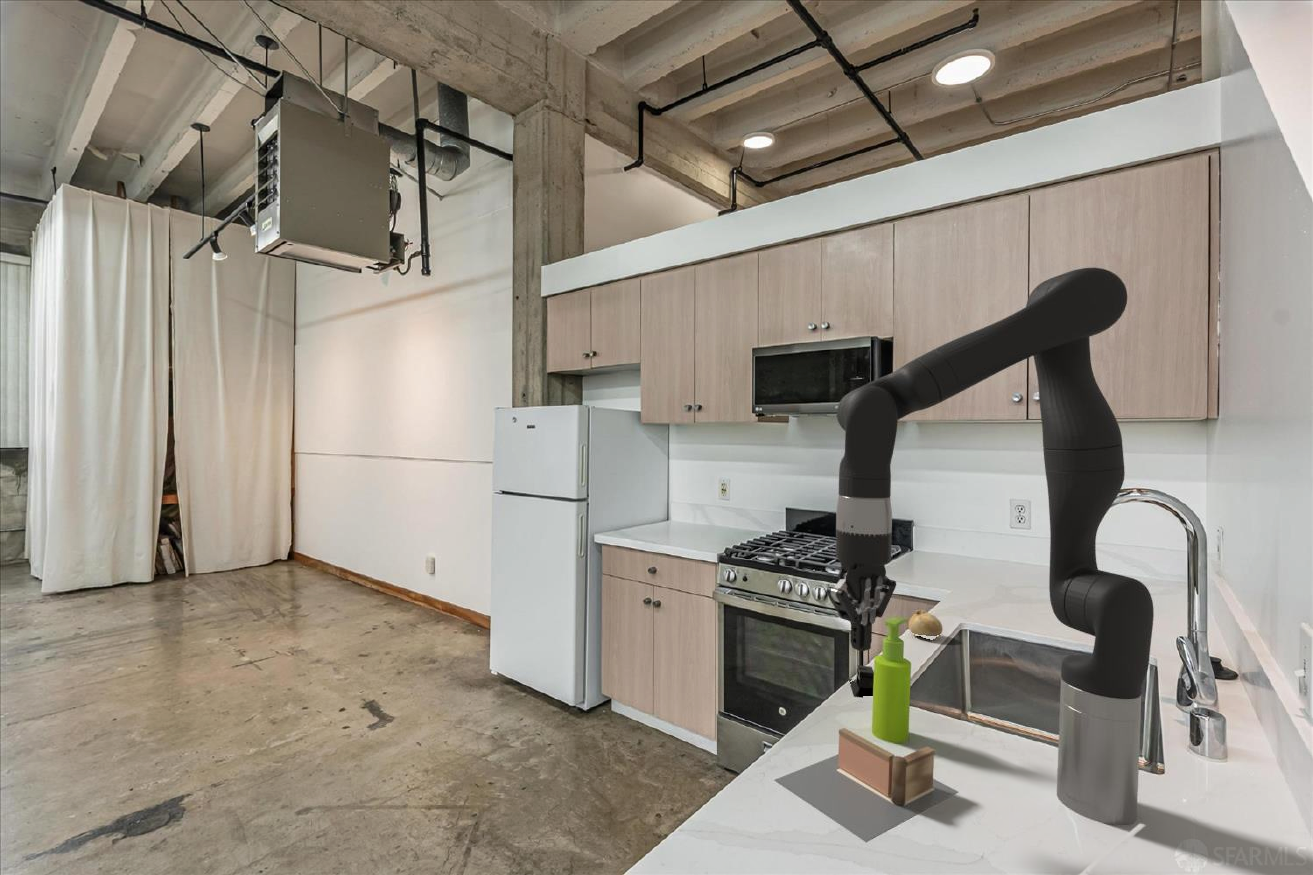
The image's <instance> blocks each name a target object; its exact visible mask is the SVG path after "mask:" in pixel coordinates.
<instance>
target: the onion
mask: <svg viewBox="0 0 1313 875" xmlns="http://www.w3.org/2000/svg"><path fill="white" fill-rule="evenodd" d="M908 621H909V622H908V629H909V631H910V630H911V632H912V633H914V634H918V635H926V636H937V635H940V634H941V635H942V633H943V624H942V622H941V620H940V619H938V617H936V615H934V614H932V613H929V612H927V611H926V610H925V609H916V610H915V612H914V614H913V615H912V616H911V617H910V619H909V620H908ZM911 632H910V633H911ZM912 633H911V634H912ZM941 635H940V636H941Z"/></svg>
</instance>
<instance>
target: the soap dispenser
mask: <svg viewBox="0 0 1313 875" xmlns="http://www.w3.org/2000/svg"><path fill="white" fill-rule="evenodd" d="M908 621H909V619H906V618H902V617H897V616H892V617H891V618H888V620H885V626H888V631H887V632H888V634H887V636H885V637H883V639H882V654H877V655H876V656H875V657H874V660H873V661H874V662H873V671H874V685H873V699H872V716H871V718H872V719H871V720H872V721H871V722H872V723H871V733H872V735H873V736H875V737H876V738H878V739H879V740H881V741H883V742H886V743H887V742H888V743H894V744H903V743H905V742H907V741H909V733H910V709H911V708H910V706H911V705H910V703H911V702H910V701H911V679H912V678H911V677H912V676H911V675H912V674H911V673H912V672H911V671H912V662H911V661H910V660H909V659H907V658H904V648H905V647H904V645H905V641H904V640H903V639H902V638H900V626H901V625H903V624H905V623H909V622H908Z"/></svg>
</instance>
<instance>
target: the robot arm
mask: <svg viewBox="0 0 1313 875" xmlns="http://www.w3.org/2000/svg"><path fill="white" fill-rule="evenodd" d="M1127 304H1128V291H1127V288H1126V285H1125V283H1124V282H1123V280H1122V278H1120V276H1118V275H1117V274H1116V273H1114V272H1113V271H1110V270H1107V269H1105V268H1101V267H1084V268H1083V267H1082V268H1077V269H1073V270H1071V271H1067V272H1063V273H1061V274H1060V275H1057V276H1054V277H1051V278H1049V279H1046V280H1043V281H1042V282H1041V283H1039V284H1038V285H1036V287H1035V288H1034V289H1033V290H1032V291H1031V293H1030V294H1029V296H1028V299H1027V301H1026V304H1025V305H1026V306H1025V307H1024V308H1022V309H1020V310H1018V311H1017V312H1015V313H1012V314H1011V315H1009V316H1006V317H1005V318H1002V319H1001V320H998V321H996V322H994V323H991V324H989V325H987V326H984V327H982V328H980V329H977V330H975V331H971V332H969V333H967V334H965V335H962V336H960V337H958V338H956V339H953V340H951V341H948V342H947V343H944V344H942V345H940V346H938V347H936V348H933V349H931V351H928V352H926V353H923V354H922V355H920V356H919V357H916V358H915V359H913V360H911V361H909V362H908V363H906V364H904V365H903V366H901V367H900V368H898V369H896V370H895V371H893V372H891V373H889V374H886V375H884V376H882V377H879V378H877V379H875V380H873V381H870V382H868V383H866V384H864V385H861V386H860V387H858V388H855V389H853V390H851V391H849V392H848V393H846V394H845V395H844V396H843V397H842V398H841V399H840V401H839V404H838V406H837V409H836V419H837V422H838V424H839V426H840V427H841V429H842V430H844V431H845V433H844V436H845V438H844V453H843V454H844V455H843V457H842V458H841V459H840V463H839V470H838V471H839V472H838V499H837V505H836V514H835V515H836V517H835V519H836V520H835V521H836V522H835V557H836V559H837V560H838V561H839V563H840V568H839V571H838V582H837V583H836V584H835V585H834V587H833V586H827V587H826V591H825V592H826V595H827V596H828V599H829V600H830V601H831V603H832V606H833V607H834V608H835V611H836V613H837V614H838V616H839V617H840V619H842V620H845V621H848V622H850V646H851V647H852V648H853V649H854V650H857V651H859V652H865V651H866V652H867V651H869V650H870V649H872V648H871V646H872V645H871V644H872V637H873V636H872V634H873V624H875V623H876V619H877V618H882V617H883V615H884V613H885V612H886V609H887V607H888V605H889V602H890V600H891V598H892V596H893V594H894V591H895V590H896V588H897V582H896V580H893V579H890V578H889V577H888V576H887V570H886V565H888V564H890V563H891V560H892V542H893V541H892V537H893V536H892V534H893V533H892V532H893V530H892V527H893V526H892V525H893V524H892V523H893V509H892V503H891V500H892V499H891V493H892V492H891V488H892V486H891V485H892V484H891V482H892V473H891V472H892V471H891V464H892V459H893V454H894V448H895V445H896V438H897V432H898V423H899V422H898V421H899V420H900V419H902V418H905V417H907V416H908V415H911V414H913V413H915V412H919V411H922V410H925V409H929V408H931V407H934V406H936V405H939V404H940V403H942V402H944V401H946V400H948V399H950V398H952V397H954V396H956V395H958V394H960V393H961V392H963V391H964V392H965V391H966V390H967V389H969V388H971V387H973V386H976V385H977V384H978V383H981V382H983V381H985V380H987V379H988V378H991V377H992V376H995V375H996V374H998V373H999V372H1001V371H1002V372H1003V371H1004V370H1006V369H1008V368H1010V367H1011V366H1014V365H1016V364H1018V363H1020V362H1022V361H1024V360H1026V359H1027V360H1028V359H1029V358H1031V357H1033V360H1034V366H1035V371H1036V375H1037V376H1036V377H1037V384H1038V385H1037V386H1038V396H1039V398H1038V399H1039V410H1040V417H1041V418H1040V419H1041V428H1042V431H1041V432H1042V447H1043V448H1042V449H1043V461H1044V471H1045V478H1046V485H1047V495H1048V497H1047V498H1048V510H1049V511H1048V514H1049V530H1050V531H1049V532H1050V541H1049V542H1050V543H1049V544H1050V546H1049V575H1048V576H1049V580H1048V583H1049V586H1048V588H1049V589H1048V590H1049V599H1050V600H1049V601H1050V605H1051V608H1052V612H1053V614H1054V616H1055V617H1056V618H1057V620H1058V621H1059V622H1060V623H1061V624H1063V625H1065V626H1066V627H1068V628H1071V629H1073V630H1076V631H1078V632H1081V633H1084V634H1087V635H1090V636H1092V637H1094V638H1095V639H1094V645H1093V650H1092V653H1091V654H1072V655H1067V656H1066V657H1064V658H1063V659H1062V662H1061V669H1060V670H1061V671H1060V674H1061V675H1060V693H1059V694H1060V695H1059V700H1060V701H1059V720H1058V721H1059V723H1058V724H1059V725H1058V748H1057V750H1058V751H1057V752H1058V753H1057V754H1058V755H1057V774H1056V776H1057V777H1056V796H1057V798H1058V800H1059V802H1060V803H1061V804H1062V805H1064V806H1065V807H1066V808H1068V810H1070V811H1072V812H1074V813H1076V814H1077V815H1080V816H1082V817H1084V818H1086V819H1089V820H1091V821H1095V822H1098V823H1102V824H1104V825H1105V824H1107V825H1110V826H1111V825H1112V826H1120V827H1121V826H1123V827H1125V826H1130V825H1133V824H1134V823H1136V822H1137V816H1138V792H1139V772H1140V771H1139V770H1140V769H1139V768H1140V766H1139V765H1140V742H1141V740H1140V738H1141V737H1140V736H1141V720H1142V719H1141V715H1142V714H1141V711H1142V710H1141V709H1142V693H1143V692H1142V691H1143V690H1142V689H1143V683H1144V681H1145V679H1146V676H1147V674H1148V671H1149V665H1150V656H1151V654H1150V653H1151V644H1152V637H1153V636H1152V635H1153V629H1154V628H1153V626H1154V617H1155V616H1154V614H1155V613H1154V610H1155V609H1154V603H1153V602H1154V601H1153V598H1152V594H1151V593H1150V591H1149V589H1148V587H1147V586H1146V585H1145V584H1144V583H1143V582H1142V581H1140V580H1138V579H1135V578H1132V577H1130V576H1126V575H1121V574H1118V573H1114V572H1110V571H1105V570H1100V569H1099V568H1098V563H1097V554H1096V541H1097V534H1098V530H1099V528H1100V527H1099V526H1100V525H1101V523H1102V521H1103V519H1104V517H1105V516H1106V514H1107V513H1108V512H1109V509H1110V508H1111V507H1112V505H1113V504H1114V502H1115V500H1116V499H1117V497H1118V495H1119V493H1120V491H1121V490H1122V486H1124V481H1125V472H1126V471H1125V459H1124V458H1125V457H1124V450H1123V449H1124V448H1123V447H1124V446H1123V438H1122V432H1121V428H1120V426H1119V423H1118V421H1117V418H1116V416H1115V414H1114V412H1113V410H1112V409H1111V406H1110V404H1109V403H1108V401H1107V399H1106V398H1105V396H1104V393H1103V392H1102V391H1101V389H1100V386H1099V385H1098V382H1097V381H1096V378H1095V375H1094V372H1093V371H1094V370H1093V367H1092V361H1091V360H1092V358H1091V346H1090V342H1091V341H1090V337H1094V336H1095V335H1098V334H1101V333H1103V332H1104V331H1106V330H1108V329H1109V328H1111V327H1112V326H1113V325H1114V324H1116V323H1117V322H1118V320H1119V319H1120V318H1121V317H1122V316H1123V314H1124V312H1125V310H1126V307H1127Z"/></svg>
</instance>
